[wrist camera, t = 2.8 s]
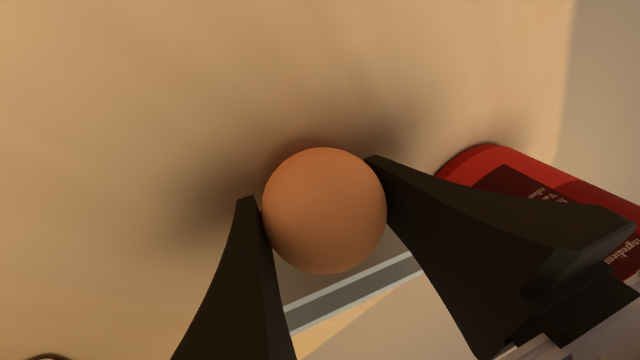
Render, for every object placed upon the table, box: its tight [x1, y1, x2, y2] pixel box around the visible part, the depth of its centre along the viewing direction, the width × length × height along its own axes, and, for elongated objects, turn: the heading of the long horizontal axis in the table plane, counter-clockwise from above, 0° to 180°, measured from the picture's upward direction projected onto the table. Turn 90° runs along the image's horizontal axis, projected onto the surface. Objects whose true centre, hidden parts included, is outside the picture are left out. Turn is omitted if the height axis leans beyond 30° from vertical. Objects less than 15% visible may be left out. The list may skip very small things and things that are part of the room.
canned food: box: [435, 144, 640, 282], centre depth 13 cm, size 8×8×11 cm
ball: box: [261, 147, 387, 275], centre depth 10 cm, size 5×5×5 cm
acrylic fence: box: [272, 224, 423, 336], centre depth 14 cm, size 10×3×4 cm, turn 98°
